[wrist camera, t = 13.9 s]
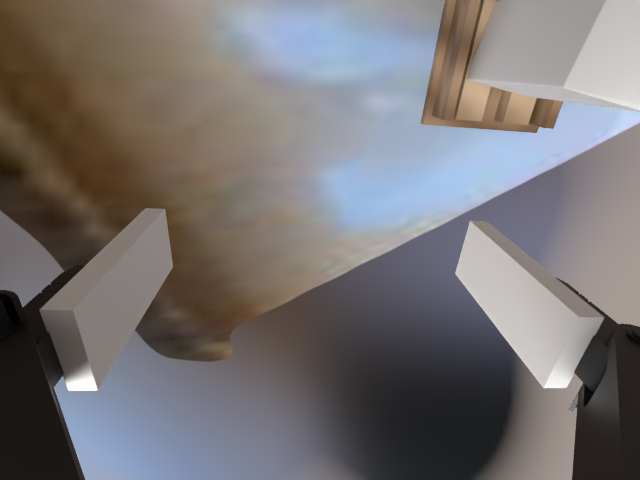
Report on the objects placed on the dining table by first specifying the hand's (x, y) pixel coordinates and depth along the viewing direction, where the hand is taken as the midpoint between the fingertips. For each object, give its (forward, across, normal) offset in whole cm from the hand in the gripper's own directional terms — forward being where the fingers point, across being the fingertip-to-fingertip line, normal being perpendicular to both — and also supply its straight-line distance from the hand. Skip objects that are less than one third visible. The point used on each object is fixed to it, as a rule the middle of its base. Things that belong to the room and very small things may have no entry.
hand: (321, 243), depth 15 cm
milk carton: (+26, +21, +10) cm, 34 cm away
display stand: (+29, +21, +10) cm, 37 cm away
